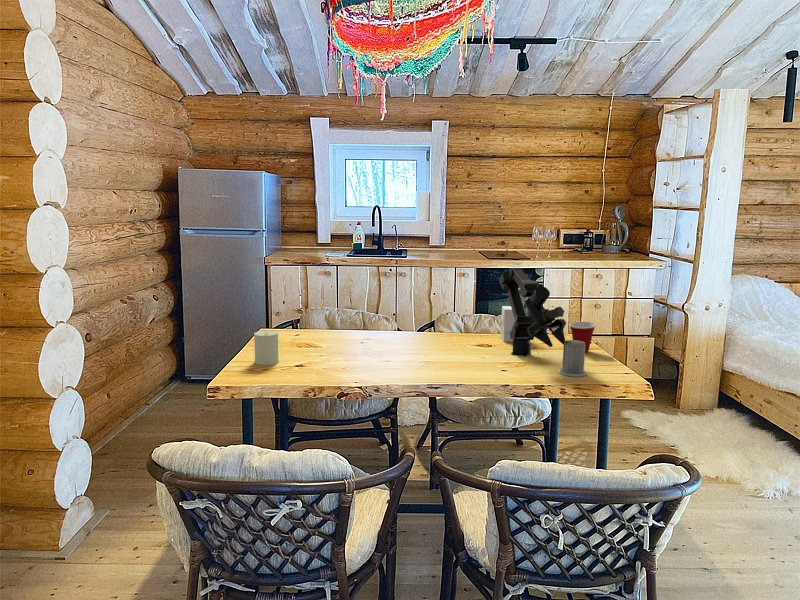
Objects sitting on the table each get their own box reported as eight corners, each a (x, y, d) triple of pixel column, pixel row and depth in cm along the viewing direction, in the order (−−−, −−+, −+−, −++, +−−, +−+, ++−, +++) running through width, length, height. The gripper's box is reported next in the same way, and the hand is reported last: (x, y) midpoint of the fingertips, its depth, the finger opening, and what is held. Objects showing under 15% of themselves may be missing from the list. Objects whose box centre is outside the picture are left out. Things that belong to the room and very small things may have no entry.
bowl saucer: (556, 374, 234) (556, 364, 234) (563, 368, 243) (564, 358, 242) (582, 378, 230) (583, 368, 229) (589, 372, 238) (589, 362, 237)
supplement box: (520, 337, 292) (521, 305, 290) (523, 342, 284) (525, 309, 281) (500, 337, 293) (501, 305, 290) (503, 342, 284) (504, 309, 281)
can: (255, 366, 240) (254, 335, 238) (253, 359, 249) (253, 329, 247) (279, 364, 242) (279, 333, 240) (277, 358, 251) (277, 328, 249)
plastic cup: (562, 349, 272) (563, 321, 270) (583, 347, 276) (585, 320, 274) (577, 355, 262) (579, 327, 260) (599, 353, 266) (601, 325, 264)
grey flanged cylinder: (560, 372, 235) (561, 343, 233) (565, 367, 241) (567, 339, 239) (580, 375, 231) (582, 345, 229) (585, 370, 237) (587, 341, 236)
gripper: (538, 300, 236) (560, 336, 230) (565, 298, 249) (586, 332, 243) (518, 317, 242) (538, 352, 236) (545, 314, 255) (565, 347, 249)
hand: (558, 345), depth 241 cm, fingers open, 9 cm apart
